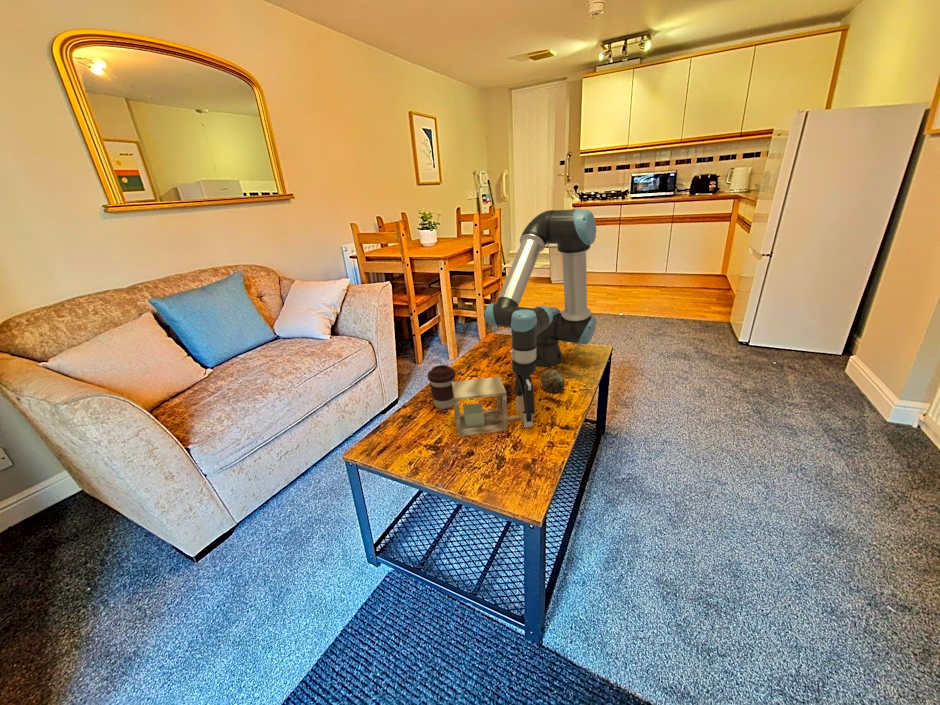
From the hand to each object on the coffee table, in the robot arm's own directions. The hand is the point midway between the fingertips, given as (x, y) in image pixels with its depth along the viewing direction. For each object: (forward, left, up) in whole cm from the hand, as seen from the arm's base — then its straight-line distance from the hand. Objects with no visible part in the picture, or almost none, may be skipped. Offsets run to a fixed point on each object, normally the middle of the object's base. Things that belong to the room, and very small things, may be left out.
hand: (524, 420), depth 132 cm
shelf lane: (+15, 0, 0) cm, 15 cm away
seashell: (-16, -19, -1) cm, 25 cm away
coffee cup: (+26, -16, -1) cm, 30 cm away
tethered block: (+9, 0, 0) cm, 9 cm away
